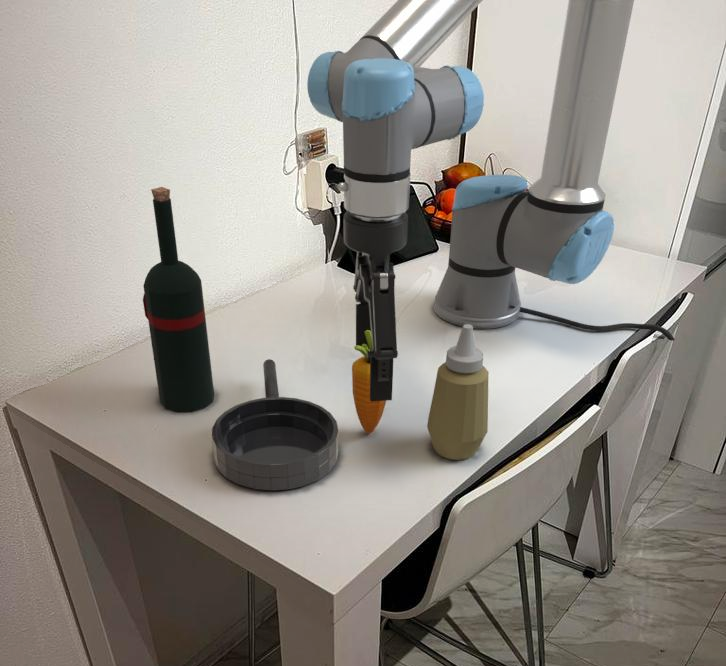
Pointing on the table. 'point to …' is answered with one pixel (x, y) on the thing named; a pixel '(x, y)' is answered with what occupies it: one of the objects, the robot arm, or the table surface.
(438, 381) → the squeeze bottle
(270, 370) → the pan handle
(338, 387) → the table surface
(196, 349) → the wine bottle
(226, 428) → the pan
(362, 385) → the carrot
